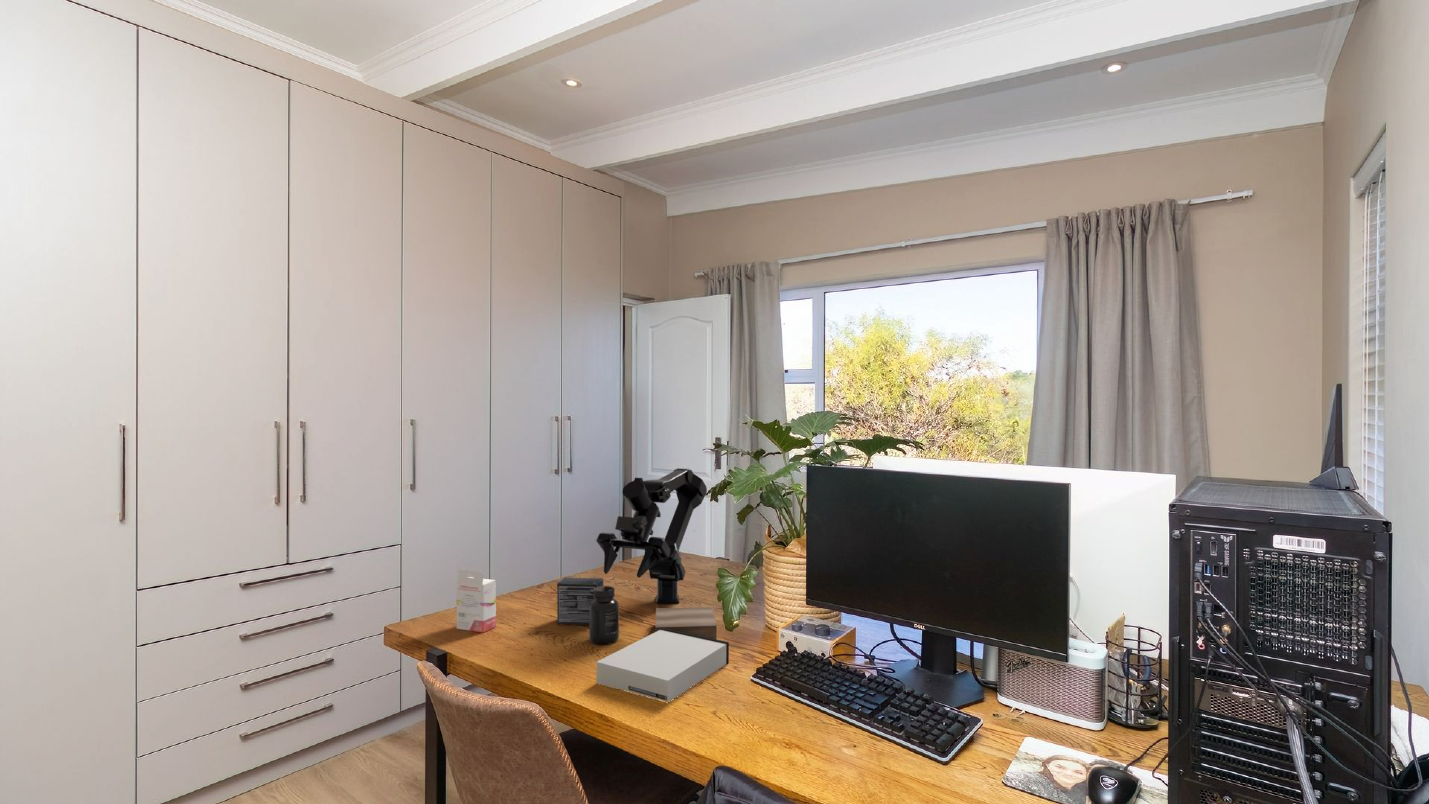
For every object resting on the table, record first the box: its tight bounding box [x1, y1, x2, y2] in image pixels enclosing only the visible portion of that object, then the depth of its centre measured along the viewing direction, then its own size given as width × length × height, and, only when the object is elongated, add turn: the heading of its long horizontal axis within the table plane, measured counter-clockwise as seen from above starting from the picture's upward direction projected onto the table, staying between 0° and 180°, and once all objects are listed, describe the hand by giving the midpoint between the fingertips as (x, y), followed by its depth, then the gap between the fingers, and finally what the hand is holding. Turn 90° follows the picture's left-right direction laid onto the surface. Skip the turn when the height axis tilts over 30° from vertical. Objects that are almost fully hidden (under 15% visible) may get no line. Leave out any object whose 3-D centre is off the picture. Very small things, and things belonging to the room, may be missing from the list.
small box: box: [556, 577, 604, 626], centre depth 171 cm, size 11×6×10 cm, turn 84°
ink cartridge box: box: [455, 568, 497, 633], centre depth 166 cm, size 9×5×15 cm, turn 68°
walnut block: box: [655, 606, 718, 640], centre depth 162 cm, size 14×14×4 cm
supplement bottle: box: [588, 585, 620, 646], centre depth 158 cm, size 7×7×12 cm
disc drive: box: [595, 628, 730, 702], centre depth 139 cm, size 18×22×5 cm
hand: (621, 574), depth 165 cm, fingers open, 9 cm apart
